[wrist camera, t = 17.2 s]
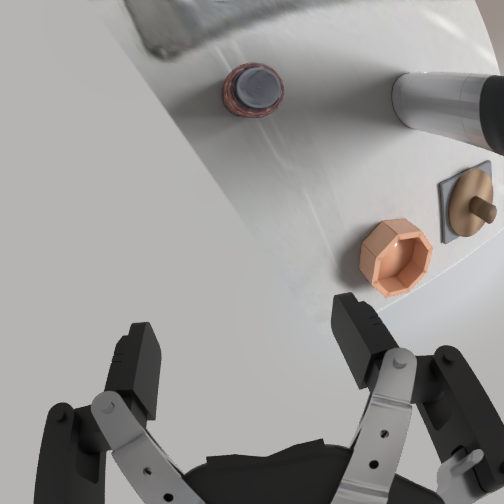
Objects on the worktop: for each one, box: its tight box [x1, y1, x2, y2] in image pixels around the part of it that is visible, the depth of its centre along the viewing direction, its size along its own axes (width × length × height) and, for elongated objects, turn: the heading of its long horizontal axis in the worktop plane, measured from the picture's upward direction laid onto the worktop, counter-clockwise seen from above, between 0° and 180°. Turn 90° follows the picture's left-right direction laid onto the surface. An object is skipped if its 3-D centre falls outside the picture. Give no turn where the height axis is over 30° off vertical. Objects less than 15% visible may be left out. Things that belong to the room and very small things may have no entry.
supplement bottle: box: [222, 63, 284, 118], centre depth 27 cm, size 6×6×11 cm
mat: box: [440, 160, 492, 244], centre depth 43 cm, size 16×13×1 cm
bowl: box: [359, 219, 433, 298], centre depth 44 cm, size 12×12×5 cm
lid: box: [448, 168, 497, 237], centre depth 40 cm, size 14×14×6 cm
